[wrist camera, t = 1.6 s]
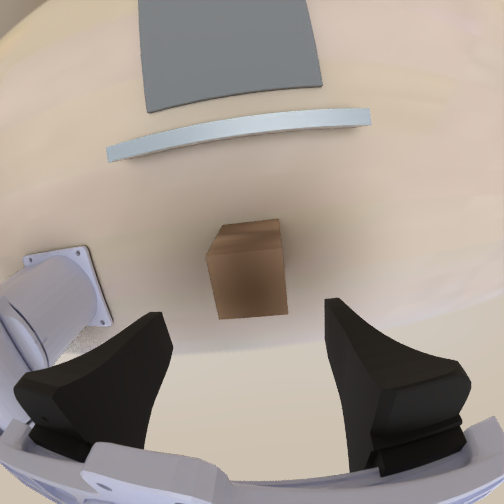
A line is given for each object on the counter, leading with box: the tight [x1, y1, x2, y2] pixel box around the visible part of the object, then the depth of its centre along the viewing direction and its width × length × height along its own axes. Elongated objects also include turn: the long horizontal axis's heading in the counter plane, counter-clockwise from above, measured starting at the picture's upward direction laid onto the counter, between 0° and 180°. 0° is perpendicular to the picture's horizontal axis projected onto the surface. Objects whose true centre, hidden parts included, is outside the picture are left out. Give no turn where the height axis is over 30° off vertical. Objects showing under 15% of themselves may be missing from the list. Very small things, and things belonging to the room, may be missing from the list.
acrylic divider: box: [106, 108, 371, 163], centre depth 17 cm, size 16×1×4 cm, turn 98°
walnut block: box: [206, 219, 288, 319], centre depth 19 cm, size 4×4×6 cm
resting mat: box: [138, 0, 323, 113], centre depth 15 cm, size 12×12×1 cm
